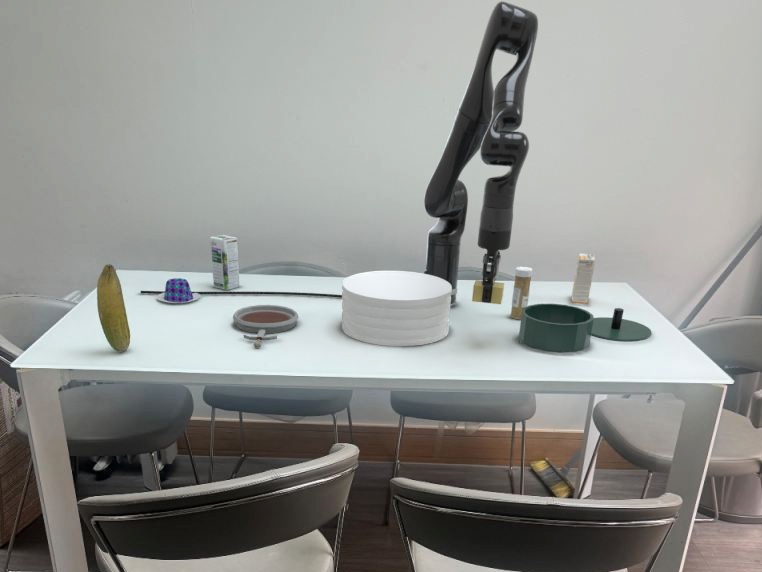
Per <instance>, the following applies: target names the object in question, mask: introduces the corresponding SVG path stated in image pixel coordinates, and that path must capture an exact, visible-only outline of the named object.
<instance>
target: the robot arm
mask: <svg viewBox="0 0 762 572" xmlns="http://www.w3.org/2000/svg"><path fill="white" fill-rule="evenodd" d="M538 33H539V19H538V16H537V14H536V13H535V12H533V11H531V10H529V9H526V8H523V7H521V6H518V5H515V4H514V3H510V2H507V1H502V0H501V1H499V2H497V3H496V5H495V6H494V7H493V9H492V11H491V13H490V15H489V19H488V21H487V24H486V27H485V31H484V34H483V38H482V41H481V44H480V47H479V51H478V54H477V57H476V60H475V64H474V67H473V70H472V73H471V76H470V78H469V81H468V84H467V86H466V88H465V92H464V94H463V97H462V99H461V101H460V104H459V106H458V109H457V112H456V115H455V117H454V120H453V123H452V126H451V129H450V132H449V135H448V138H447V140H446V143H445V146H444V148H443V151H442V153H441V156H440V158H439V160H438V162H437V165H436V166H435V169H434V171H433V173H432V175H431V177H430V179H429V181H428V184H427V186H426V188H425V191H424V196H423V207H424V211H425V212H426V214H427V215H428V216H429V217H431V218H435V219H437V222H436V223H435V225H433V226H432V227H431V228H430V229H429V231H428V232H427V239H426V240H427V241H426V256H425V269H424V272H423V274H428V275H432V276H436V277H439V278H441V279H444V280H446V281H447V282H449V283H450V284H451V286H452V292H451V303H450V308H452V307H455V306H456V305H457V295H458V278H459V265H460V254H461V253H460V252H461V241H462V236H463V234H464V232H465V228H466V221H467V214H468V207H469V206H468V205H469V194H468V189H467V186H466V185H465V183H464V182H463V181H462V180H460V179H459V178H460V175H461V174H462V172H463V170H464V169H465V167H466V166H467V165H468V164H469V162H470V161H472V159H473V158H474V156H475V155H476V154H477V153H478V152H479V156H480V158H481V161H482V162H483V163H484V164H485V165H487V166H494V167H495V166H496V167H510V168H509V169H508V170H507V171H506V172H505V173H504V174H502V175H498V176H491V177H489V178H486V181H484V182H485V183H484V189H483V199H482V207H481V211H480V215H479V217H480V218H479V225H478V226H479V227H478V236H477V246H478V248H480V249H484V250H486V253H484V254H483V257H482V264H483V265H482V273H481V276H482V281H483V282H482V286H483V294H482V302H485V303H484V304H491V303H490V302H491V297H492V289H493V286H494V282H496V280H497V276H498V273H499V269H500V263H501V260H502V254H501V252H500V251H506V250H508V249H509V248H510V245H511V237H512V230H513V221H514V204H515V196H516V189H517V184H518V180H519V178H520V174H521V171H522V168H523V166H524V164H525V161H526V159H527V157H528V154H529V149H530V140H529V138H528V136H527V134H526V133H525V132H522V131H517V130H518V129H519V128H520V127H521V126H522V123H523V118H524V106H525V95H526V94H525V92H526V88H527V87H526V86H527V81H528V77H529V73H530V69H531V64H532V60H533V55H534V51H535V47H536V42H537V37H538ZM497 50H498V51H500V52H502V53H504V54H505V53H506V54H509V55H511V56H515V57H516V60H515V63H514V64H513V65H512V67H511V68H510V69H509V70H508V71H506V73H505V74H504V75H503V76H502V77H501V78H500V79H499V81H498V82H497V83H496V86H495V88H494V82H493V61H494V56H495V53H496V51H497ZM164 292H165V290H164V291H163V290H140V294H146V295H149V294H151V295H159V294H161V293H164ZM192 293H198V294H200V295H274V296H275V295H279V296H280V295H281V296H307V297H308V296H309V297H311V296H312V297H326V298H339V299H340V298H341V299H342V294H333V293H317V292H297V291H296V292H295V291H294V292H293V291H291V292H290V291H192ZM482 302H481V303H482Z"/></svg>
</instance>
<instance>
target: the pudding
mask: <svg viewBox="0 0 762 572" xmlns="http://www.w3.org/2000/svg"><path fill="white" fill-rule="evenodd" d="M164 291H165V292H164V293H161V294H157V295H156V299H157V300H159V301H160V302H164V303H170V304H184V303H185V304H187V303H189V302H193V301H196V300H199V299H200V298H201V294H198V293H192V292H193V291H192V289H191V287H190V284H189V281H188V279H186V278H180V277H179V278H176V277H175V278H169V279H168V280H167V281H166V282H165V288H164Z"/></svg>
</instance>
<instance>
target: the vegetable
mask: <svg viewBox="0 0 762 572" xmlns="http://www.w3.org/2000/svg"><path fill="white" fill-rule="evenodd" d="M96 300H97V301H96V306H97V313H98V318H99V322H100V325H101V329H102V332H103V334H104V337H105V338H106V341H107V343H108V344H109V345H110V347H111V348H112V349H113V350H114V351H115V352H119V353H122V352H125V351H127V350H128V349H129V347H130V344H131V330H130V325H129V320H128V315H127V309H126V304H125V300H124V295H123V289H122V284H121V280H120V278H119V276H118V273H117V270H116V268H115V267H114V265H113V264H109V263H108V264H105V265H104V266H103V268H102V271H101V273H100V275H99V277H98V279H97V285H96Z"/></svg>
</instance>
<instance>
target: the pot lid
mask: <svg viewBox="0 0 762 572" xmlns="http://www.w3.org/2000/svg"><path fill="white" fill-rule="evenodd" d="M624 311H625V310H624V309H623V308H620V307H615V308H614V309H613V313H612V317H606V316H605V317H603V316H602V317H601V316H599V317H593V318H594V320H593V326H592V331H591V336H592V337H595V338H599V339H603V340H608V341H615V342H639V341H643V340H647V339H648V338H650V337H651V336H652V330H651V328H650V327H648V326H646V325H645V324H642V323H640V322H637V321H634V320H629V319H626V318H625V319H624V318H623V317H624Z"/></svg>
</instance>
